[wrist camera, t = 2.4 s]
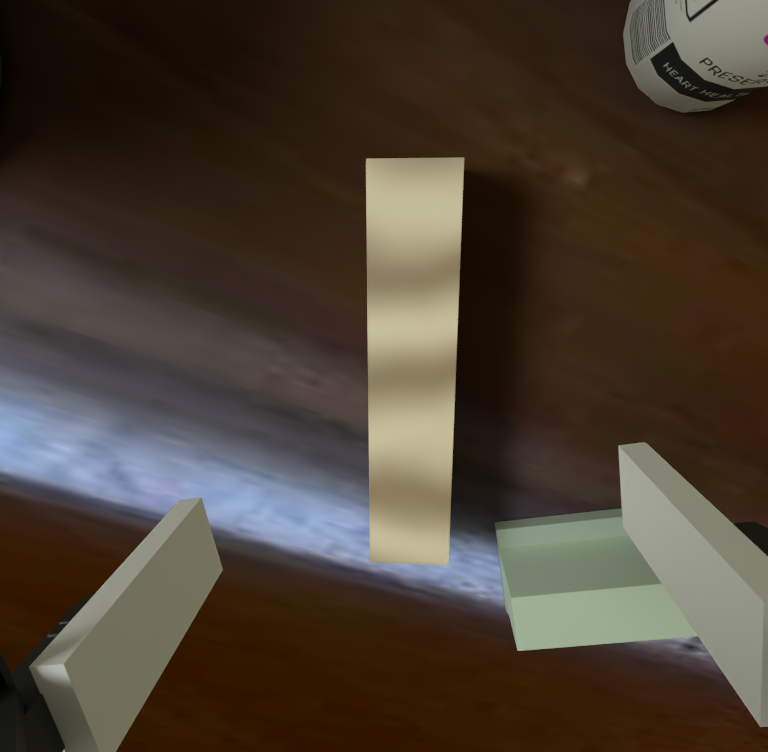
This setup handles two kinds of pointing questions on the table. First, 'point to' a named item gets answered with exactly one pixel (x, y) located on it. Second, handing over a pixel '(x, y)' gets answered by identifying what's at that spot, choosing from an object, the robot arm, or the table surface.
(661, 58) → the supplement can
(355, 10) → the table surface
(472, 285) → the table surface
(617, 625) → the stepped block
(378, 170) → the beam
